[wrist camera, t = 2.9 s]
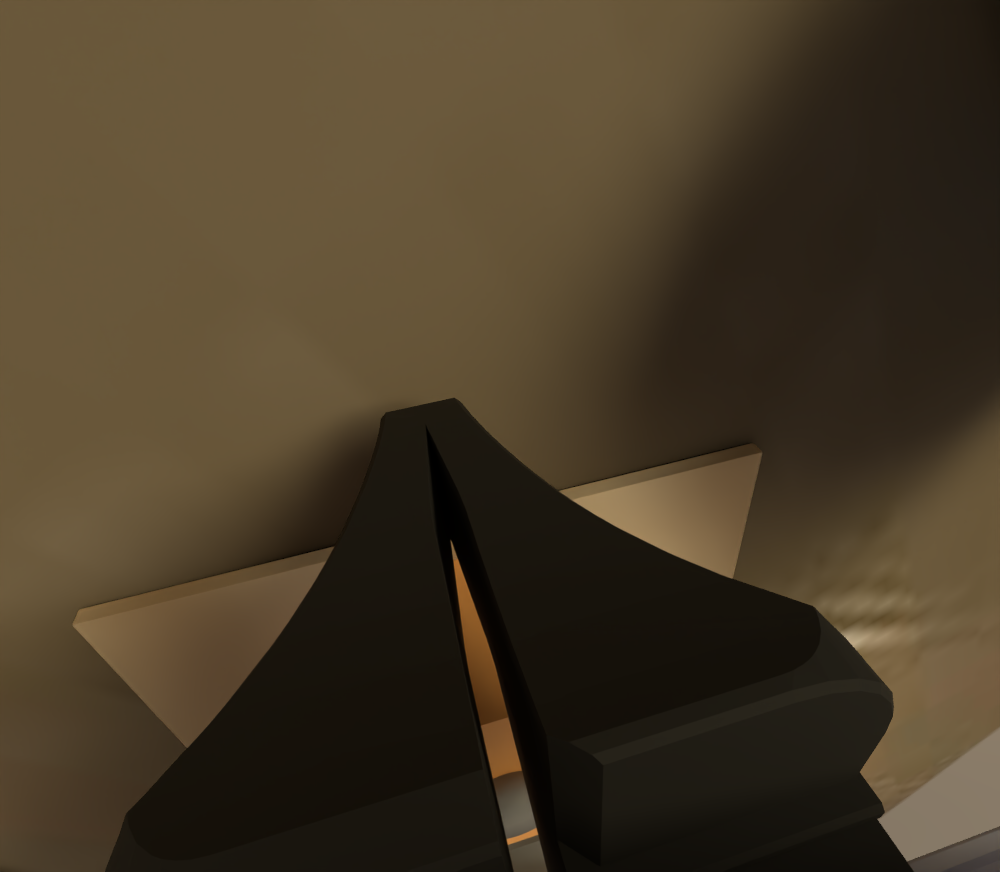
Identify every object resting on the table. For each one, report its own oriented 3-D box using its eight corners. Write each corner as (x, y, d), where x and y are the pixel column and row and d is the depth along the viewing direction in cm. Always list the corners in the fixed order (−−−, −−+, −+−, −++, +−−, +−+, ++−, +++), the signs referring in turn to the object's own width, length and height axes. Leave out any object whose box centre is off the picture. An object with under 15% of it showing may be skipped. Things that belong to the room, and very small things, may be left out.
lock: (384, 720, 16) (400, 913, 13) (327, 592, 13) (327, 809, 9) (576, 664, 17) (642, 829, 14) (573, 529, 14) (660, 705, 10)
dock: (327, 887, 23) (327, 1078, 19) (78, 609, 12) (-60, 927, 8) (680, 770, 26) (751, 917, 21) (753, 443, 14) (936, 616, 10)
